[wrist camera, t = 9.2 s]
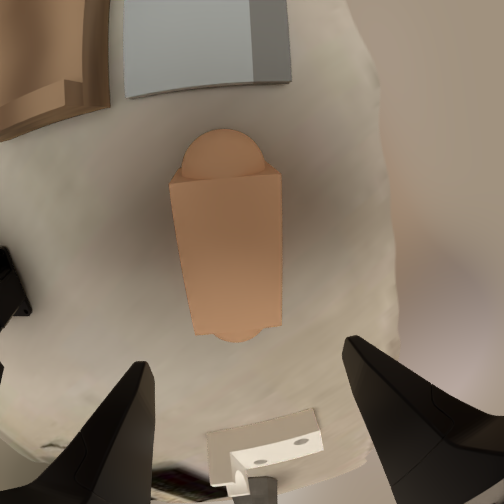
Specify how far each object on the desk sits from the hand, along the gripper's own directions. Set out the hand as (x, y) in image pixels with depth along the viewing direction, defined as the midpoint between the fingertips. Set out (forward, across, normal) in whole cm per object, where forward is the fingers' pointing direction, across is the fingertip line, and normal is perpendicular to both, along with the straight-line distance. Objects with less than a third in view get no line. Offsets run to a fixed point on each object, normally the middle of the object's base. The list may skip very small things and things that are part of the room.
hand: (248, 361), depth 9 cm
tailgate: (+11, +5, -18) cm, 22 cm away
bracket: (+12, -2, +27) cm, 30 cm away
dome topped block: (+11, 0, 0) cm, 11 cm away
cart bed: (+11, +11, -18) cm, 24 cm away
